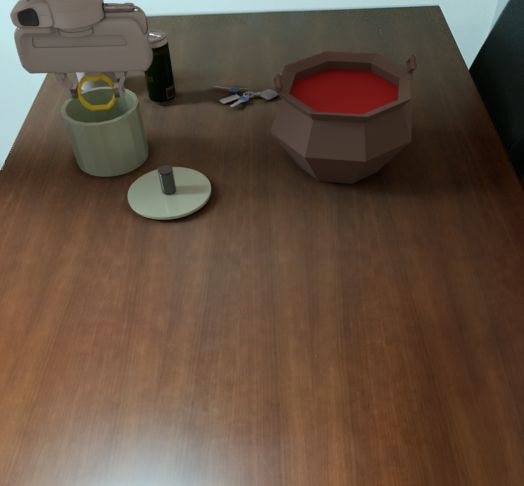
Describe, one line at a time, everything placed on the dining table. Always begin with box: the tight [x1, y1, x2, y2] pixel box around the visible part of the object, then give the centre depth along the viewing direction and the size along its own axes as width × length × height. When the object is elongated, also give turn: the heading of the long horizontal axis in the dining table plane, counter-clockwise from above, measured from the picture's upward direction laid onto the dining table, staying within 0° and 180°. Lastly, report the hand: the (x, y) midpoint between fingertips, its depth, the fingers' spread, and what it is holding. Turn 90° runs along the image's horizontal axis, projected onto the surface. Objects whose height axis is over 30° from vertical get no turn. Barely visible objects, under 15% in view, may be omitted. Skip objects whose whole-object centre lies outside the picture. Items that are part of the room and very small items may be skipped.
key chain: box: [211, 85, 279, 108], centre depth 114 cm, size 14×8×1 cm, turn 80°
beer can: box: [143, 29, 177, 106], centre depth 111 cm, size 5×5×12 cm
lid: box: [126, 164, 212, 221], centre depth 93 cm, size 14×14×5 cm
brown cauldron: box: [270, 50, 418, 185], centre depth 94 cm, size 24×24×16 cm
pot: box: [60, 87, 150, 178], centre depth 100 cm, size 13×13×10 cm
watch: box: [77, 72, 116, 111], centre depth 95 cm, size 6×3×6 cm, turn 101°
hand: (97, 96), depth 95 cm, fingers closed on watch, 6 cm apart
